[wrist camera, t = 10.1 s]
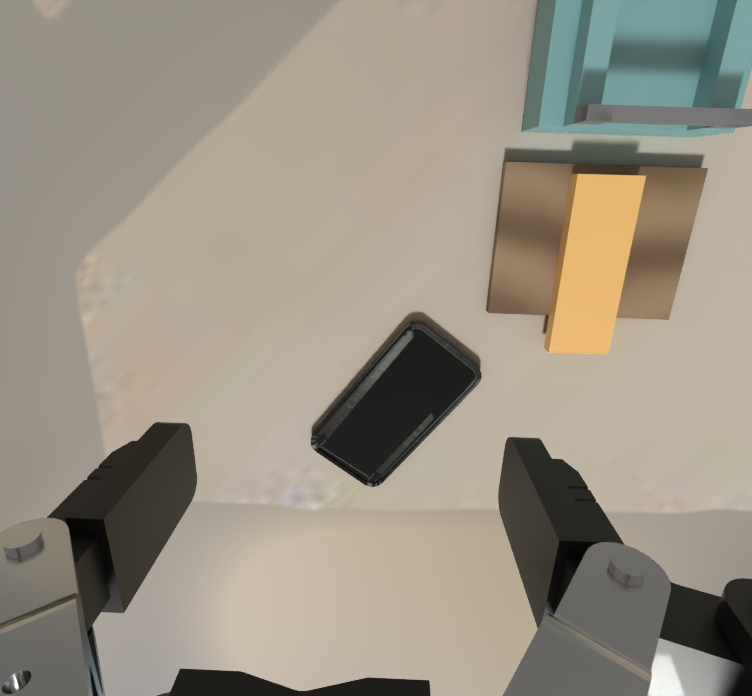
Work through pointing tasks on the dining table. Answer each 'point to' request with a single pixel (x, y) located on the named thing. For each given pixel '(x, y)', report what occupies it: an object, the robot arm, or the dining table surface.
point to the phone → (396, 404)
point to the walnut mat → (545, 224)
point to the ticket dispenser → (639, 67)
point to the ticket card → (592, 261)
